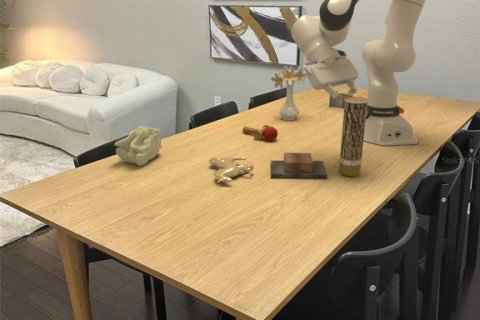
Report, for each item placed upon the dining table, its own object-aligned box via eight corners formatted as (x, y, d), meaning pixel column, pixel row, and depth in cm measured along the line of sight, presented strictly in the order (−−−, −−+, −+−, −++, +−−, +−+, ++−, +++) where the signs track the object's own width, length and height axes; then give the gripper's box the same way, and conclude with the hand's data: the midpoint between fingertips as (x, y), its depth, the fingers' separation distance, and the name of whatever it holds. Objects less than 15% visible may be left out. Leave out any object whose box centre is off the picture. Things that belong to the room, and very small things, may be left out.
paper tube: (360, 170, 139) (368, 97, 130) (359, 178, 133) (366, 102, 124) (340, 168, 141) (346, 96, 132) (337, 176, 136) (343, 100, 126)
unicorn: (232, 159, 151) (189, 168, 142) (232, 148, 149) (189, 157, 141) (264, 178, 135) (218, 190, 127) (264, 167, 134) (218, 178, 125)
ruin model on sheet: (351, 108, 218) (353, 90, 215) (350, 109, 216) (351, 91, 212) (330, 106, 223) (332, 88, 220) (329, 107, 221) (330, 89, 217)
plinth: (322, 165, 144) (323, 151, 143) (326, 179, 133) (327, 164, 131) (270, 164, 146) (270, 151, 144) (270, 178, 134) (271, 163, 133)
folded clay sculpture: (142, 183, 148) (129, 154, 136) (119, 166, 154) (105, 137, 142) (177, 152, 156) (169, 123, 145) (154, 137, 162) (144, 108, 151)
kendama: (237, 138, 177) (268, 142, 165) (238, 123, 176) (269, 126, 164) (250, 137, 183) (281, 141, 170) (250, 123, 182) (282, 125, 169)
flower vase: (267, 121, 196) (267, 68, 187) (287, 113, 209) (288, 62, 200) (291, 126, 188) (293, 70, 179) (310, 117, 202) (312, 65, 193)
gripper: (307, 56, 125) (331, 94, 122) (348, 51, 138) (370, 84, 134) (296, 70, 130) (318, 106, 127) (336, 63, 142) (357, 96, 139)
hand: (346, 95), depth 131 cm, fingers open, 8 cm apart
